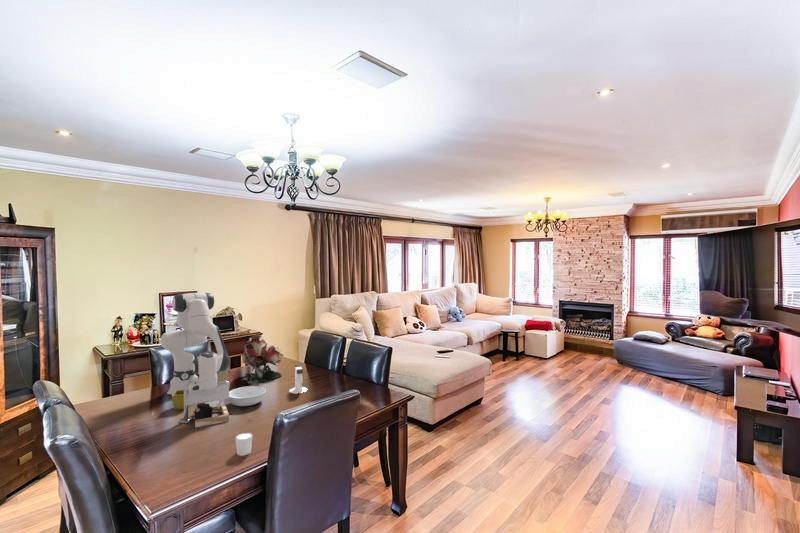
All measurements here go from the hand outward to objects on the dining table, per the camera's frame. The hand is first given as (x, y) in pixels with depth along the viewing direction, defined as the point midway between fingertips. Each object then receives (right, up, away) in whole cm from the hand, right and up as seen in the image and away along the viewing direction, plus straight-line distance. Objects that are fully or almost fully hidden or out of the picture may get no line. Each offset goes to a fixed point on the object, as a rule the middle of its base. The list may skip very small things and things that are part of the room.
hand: (208, 409), depth 200 cm
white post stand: (+36, -4, +43) cm, 56 cm away
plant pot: (-16, -4, +42) cm, 45 cm away
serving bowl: (+12, -5, +21) cm, 25 cm away
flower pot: (-21, -5, +14) cm, 26 cm away
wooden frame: (+1, -4, +1) cm, 5 cm away
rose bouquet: (+1, -4, +71) cm, 71 cm away
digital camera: (-2, -5, -1) cm, 5 cm away
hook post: (-9, -5, -5) cm, 11 cm away
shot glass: (+33, -5, -35) cm, 48 cm away
